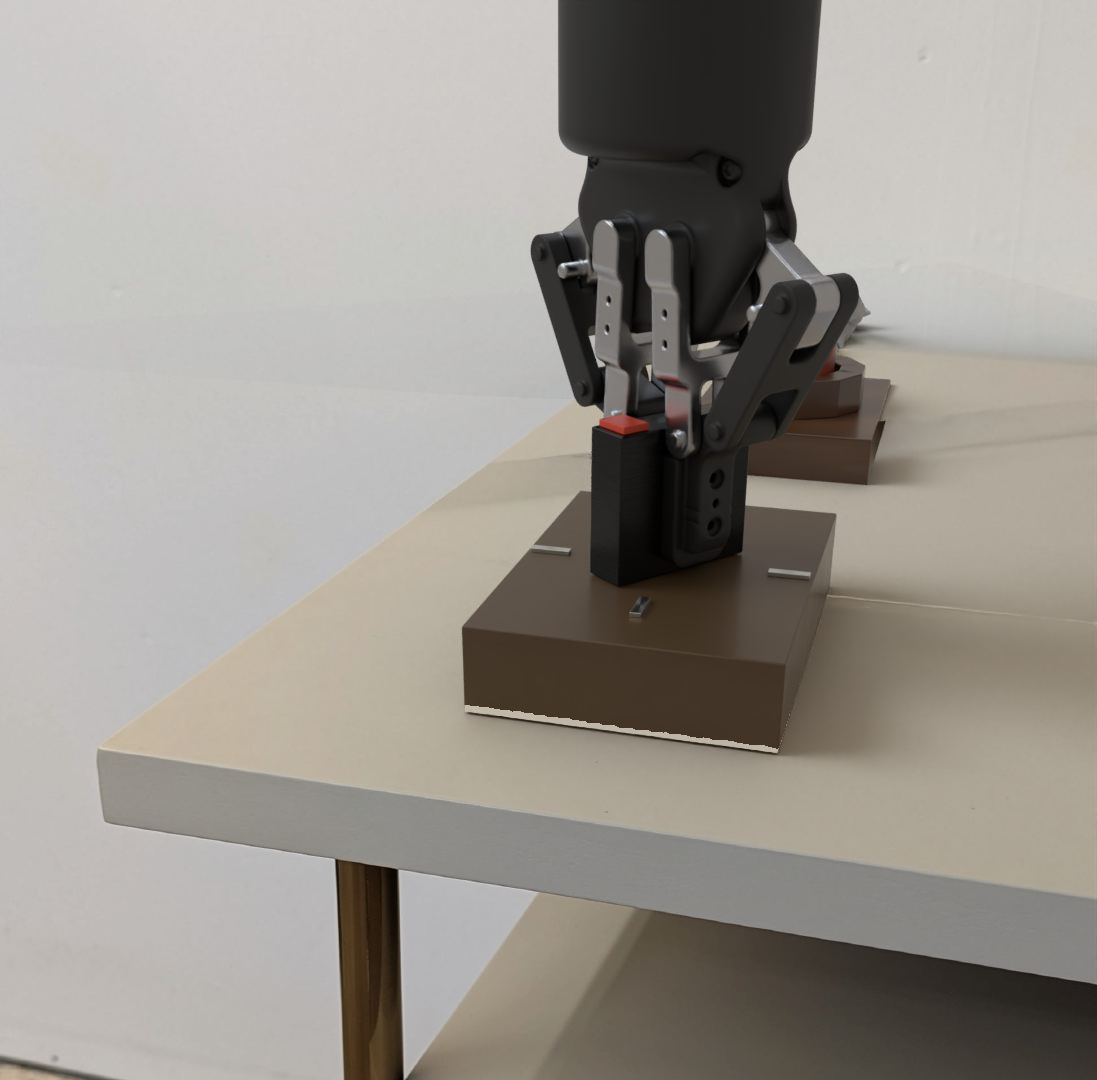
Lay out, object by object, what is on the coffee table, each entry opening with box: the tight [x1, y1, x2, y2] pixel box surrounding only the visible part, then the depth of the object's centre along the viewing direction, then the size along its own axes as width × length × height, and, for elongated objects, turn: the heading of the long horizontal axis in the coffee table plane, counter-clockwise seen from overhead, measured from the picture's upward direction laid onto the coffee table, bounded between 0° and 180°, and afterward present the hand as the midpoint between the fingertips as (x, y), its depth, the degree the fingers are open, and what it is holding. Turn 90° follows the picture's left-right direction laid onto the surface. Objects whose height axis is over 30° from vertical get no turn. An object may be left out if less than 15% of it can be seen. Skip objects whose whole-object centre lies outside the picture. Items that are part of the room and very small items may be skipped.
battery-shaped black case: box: [590, 403, 749, 586], centre depth 47 cm, size 6×2×5 cm, turn 126°
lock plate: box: [461, 490, 837, 749], centre depth 48 cm, size 14×10×3 cm
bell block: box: [701, 354, 892, 486], centre depth 70 cm, size 12×9×4 cm
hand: (669, 548), depth 48 cm, fingers closed on battery-shaped black case, 2 cm apart
